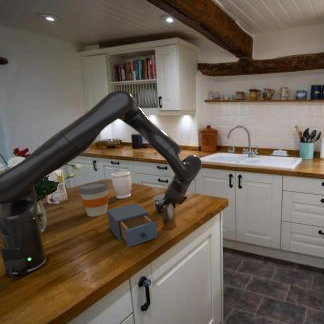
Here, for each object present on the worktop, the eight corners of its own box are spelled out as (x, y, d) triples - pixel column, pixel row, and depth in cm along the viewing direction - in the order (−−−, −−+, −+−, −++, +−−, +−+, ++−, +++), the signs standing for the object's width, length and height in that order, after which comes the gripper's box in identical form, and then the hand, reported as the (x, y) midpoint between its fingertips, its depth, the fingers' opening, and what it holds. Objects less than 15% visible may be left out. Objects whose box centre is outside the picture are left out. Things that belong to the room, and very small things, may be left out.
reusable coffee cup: (113, 206, 136) (109, 180, 133) (109, 215, 124) (105, 187, 121) (86, 210, 131) (82, 183, 128) (80, 219, 120) (75, 190, 117)
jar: (114, 195, 155) (112, 172, 152) (133, 192, 159) (130, 170, 156) (113, 200, 145) (110, 176, 142) (132, 197, 149) (130, 174, 146)
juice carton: (58, 204, 139) (52, 172, 136) (45, 203, 141) (39, 171, 137) (69, 200, 147) (64, 169, 143) (57, 199, 148) (52, 168, 144)
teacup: (150, 212, 127) (148, 198, 126) (166, 205, 137) (164, 191, 135) (169, 217, 121) (168, 202, 119) (185, 210, 130) (184, 195, 129)
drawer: (158, 238, 100) (157, 222, 98) (129, 248, 92) (127, 232, 91) (145, 226, 110) (144, 212, 109) (117, 234, 103) (115, 219, 101)
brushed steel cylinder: (172, 229, 109) (170, 204, 107) (161, 229, 109) (159, 204, 107) (176, 224, 114) (175, 199, 112) (165, 224, 114) (163, 199, 112)
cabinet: (149, 230, 109) (148, 212, 107) (118, 240, 100) (116, 220, 98) (138, 219, 119) (136, 203, 117) (109, 228, 111) (107, 210, 109)
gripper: (188, 179, 106) (177, 199, 118) (155, 186, 97) (147, 207, 108) (195, 194, 104) (183, 212, 115) (162, 203, 94) (153, 222, 105)
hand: (166, 209), depth 111 cm, fingers closed on brushed steel cylinder, 5 cm apart
